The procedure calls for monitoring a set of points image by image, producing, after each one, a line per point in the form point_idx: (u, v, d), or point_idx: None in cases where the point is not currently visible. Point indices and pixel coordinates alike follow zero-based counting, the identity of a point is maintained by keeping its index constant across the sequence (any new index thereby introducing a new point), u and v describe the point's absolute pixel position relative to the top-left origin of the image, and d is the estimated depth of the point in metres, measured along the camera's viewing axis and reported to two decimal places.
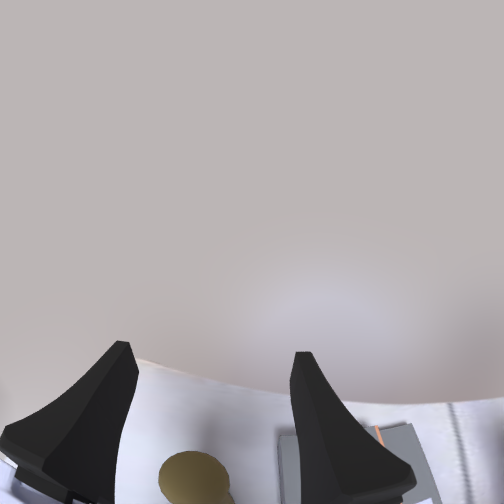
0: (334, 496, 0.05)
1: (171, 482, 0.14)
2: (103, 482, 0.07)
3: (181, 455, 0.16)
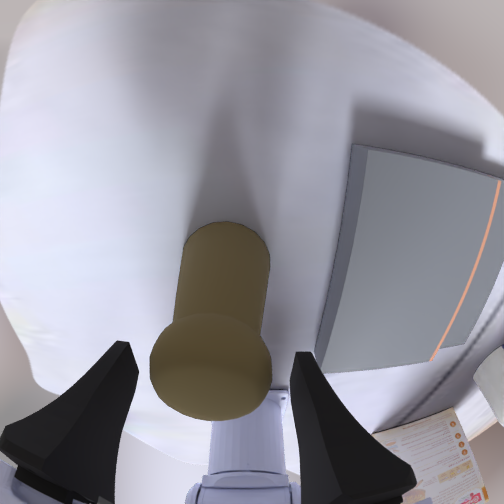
0: (334, 496, 0.05)
1: (178, 409, 0.10)
2: (103, 482, 0.07)
3: (180, 374, 0.09)
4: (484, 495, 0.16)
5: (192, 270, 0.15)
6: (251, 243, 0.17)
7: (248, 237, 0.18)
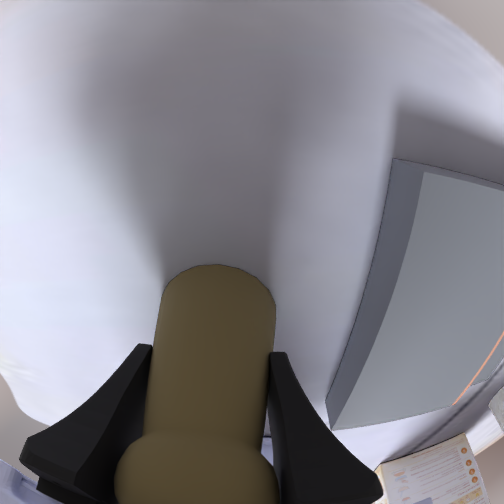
0: (292, 501, 0.05)
1: None
2: None
3: None
4: None
5: (167, 348, 0.10)
6: (251, 298, 0.12)
7: (247, 289, 0.13)
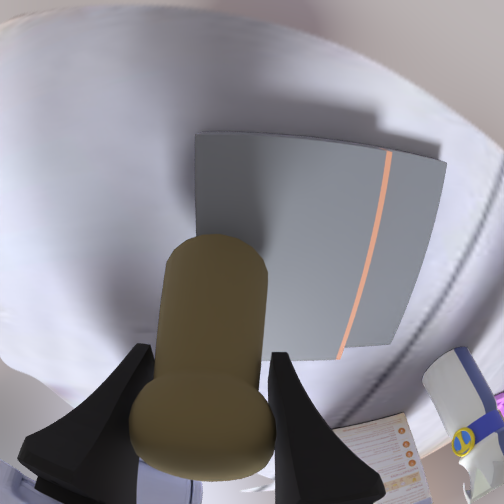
0: (295, 501, 0.05)
1: None
2: (127, 489, 0.07)
3: (168, 453, 0.06)
4: None
5: (177, 302, 0.12)
6: (249, 263, 0.14)
7: (245, 255, 0.15)
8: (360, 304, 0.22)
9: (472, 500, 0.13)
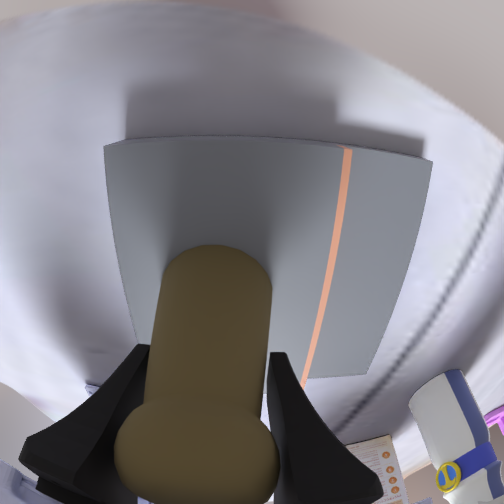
0: (293, 501, 0.05)
1: None
2: (128, 489, 0.07)
3: (156, 488, 0.05)
4: None
5: (171, 318, 0.10)
6: (252, 277, 0.13)
7: (248, 268, 0.13)
8: (324, 334, 0.19)
9: None
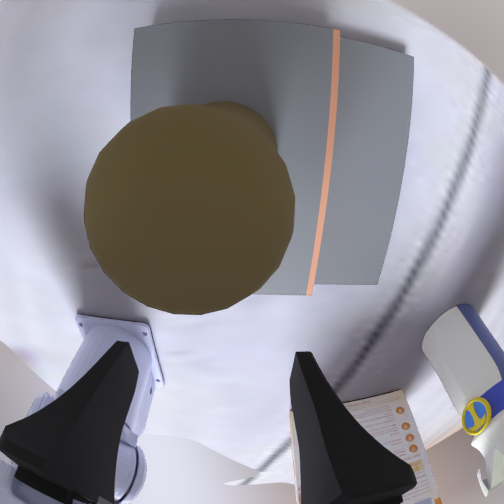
0: (334, 496, 0.05)
1: (118, 270, 0.06)
2: (103, 482, 0.07)
3: (131, 157, 0.05)
4: None
5: None
6: (258, 118, 0.13)
7: (254, 114, 0.13)
8: (331, 221, 0.18)
9: (489, 491, 0.10)
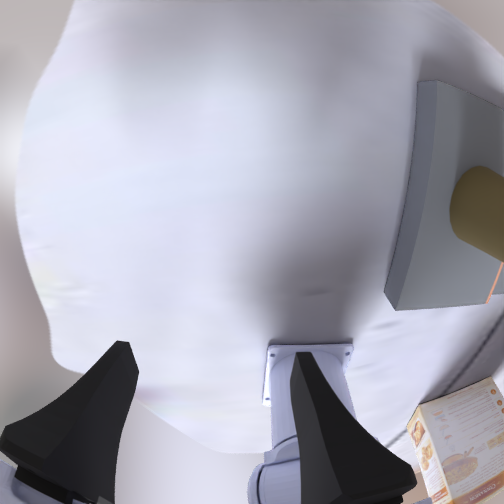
0: (334, 496, 0.05)
1: None
2: (103, 482, 0.07)
3: None
4: None
5: None
6: None
7: None
8: None
9: None
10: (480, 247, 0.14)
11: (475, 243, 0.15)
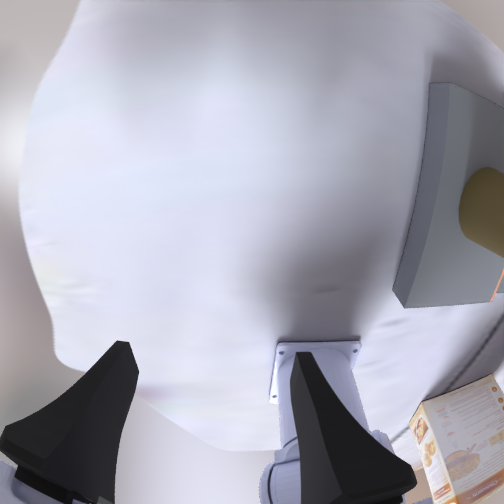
0: (334, 496, 0.05)
1: None
2: (103, 482, 0.07)
3: None
4: None
5: None
6: None
7: None
8: None
9: None
10: (488, 247, 0.14)
11: (483, 243, 0.15)
